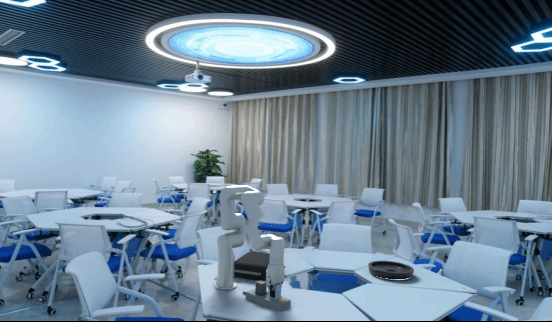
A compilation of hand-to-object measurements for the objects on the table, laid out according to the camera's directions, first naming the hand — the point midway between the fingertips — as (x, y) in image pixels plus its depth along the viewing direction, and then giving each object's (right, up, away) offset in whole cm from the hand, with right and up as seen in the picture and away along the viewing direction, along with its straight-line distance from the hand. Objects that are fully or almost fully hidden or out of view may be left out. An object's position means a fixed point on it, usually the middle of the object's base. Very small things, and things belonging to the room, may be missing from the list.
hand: (275, 295), depth 203 cm
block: (0, -2, 0) cm, 2 cm away
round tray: (+79, -8, +63) cm, 102 cm away
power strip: (-6, -5, +5) cm, 10 cm away
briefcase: (-10, -4, +55) cm, 56 cm away
